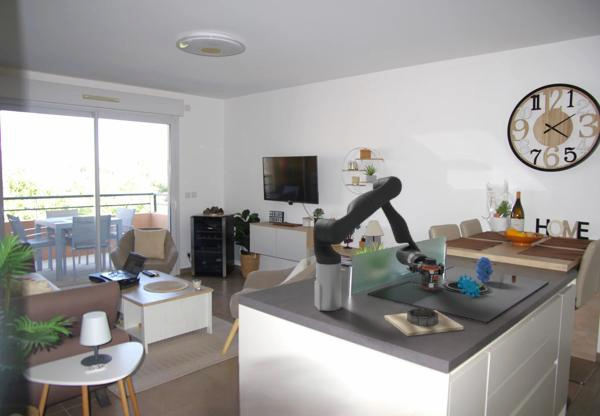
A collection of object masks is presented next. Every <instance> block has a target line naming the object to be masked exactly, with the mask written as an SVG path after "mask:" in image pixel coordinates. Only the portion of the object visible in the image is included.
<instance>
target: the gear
mask: <svg viewBox="0 0 600 416" xmlns="http://www.w3.org/2000/svg"><path fill="white" fill-rule="evenodd" d="M467 278H468V279H467ZM472 279H473V277H472V276H469V277H468V276H467V275H465V274H464V275H461V276H459V277H458V279H457V280H456V282H457V283H458V284H457V287H458V288H461V289H460V292H461V293H462V294H465V295H466V297H471V298H472V299H473V298H475V297H476V298H477V297H479V296H480V293H481V291H482V290H481V289H480V288H482V284H477V283H478V282H477V280H476V279H474V280H472ZM465 292H466V293H465Z"/></svg>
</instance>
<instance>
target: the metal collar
mask: <svg viewBox="0 0 600 416" xmlns="http://www.w3.org/2000/svg"><path fill="white" fill-rule="evenodd" d="M406 313H407V321H408V322H409V323H411V324H414V325H417V326H425V327H429V326H435V325H437V324H438V318H439V316H438V313H436V312H435V311H433V310H432V309H428V308H419V307H418V308H410V309H408V310H407V312H406ZM418 316H420V317H428V318H420V317H418Z"/></svg>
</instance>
